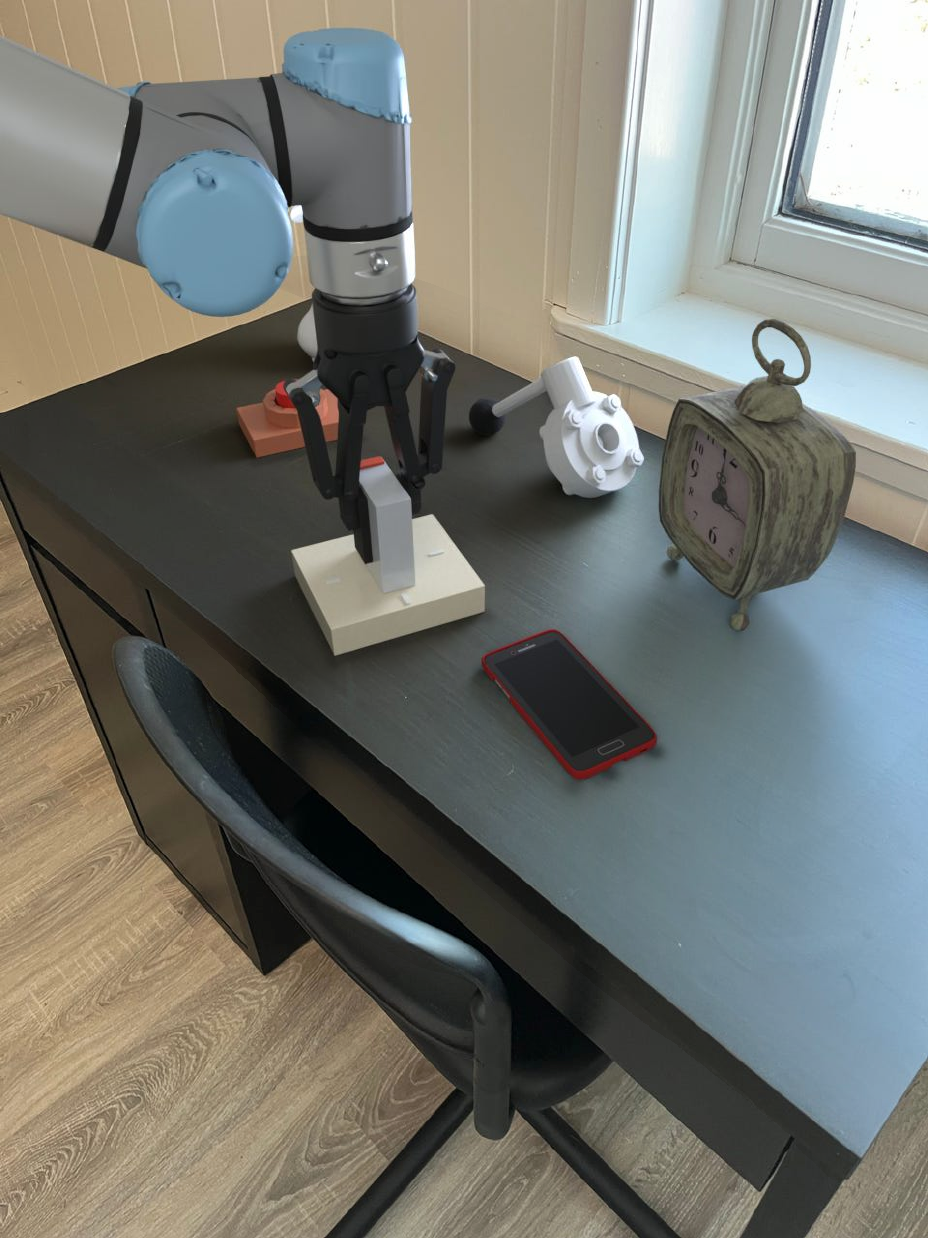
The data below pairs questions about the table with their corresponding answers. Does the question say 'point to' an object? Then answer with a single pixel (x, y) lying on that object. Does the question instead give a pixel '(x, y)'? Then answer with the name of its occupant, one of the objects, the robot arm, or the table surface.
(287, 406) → the button
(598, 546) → the table surface
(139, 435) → the table surface
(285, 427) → the button block
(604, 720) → the cell phone
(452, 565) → the cream rectangular base
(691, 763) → the table surface
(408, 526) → the grey rectangular block
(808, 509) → the tabletop clock
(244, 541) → the table surface
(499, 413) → the mechanical valve
